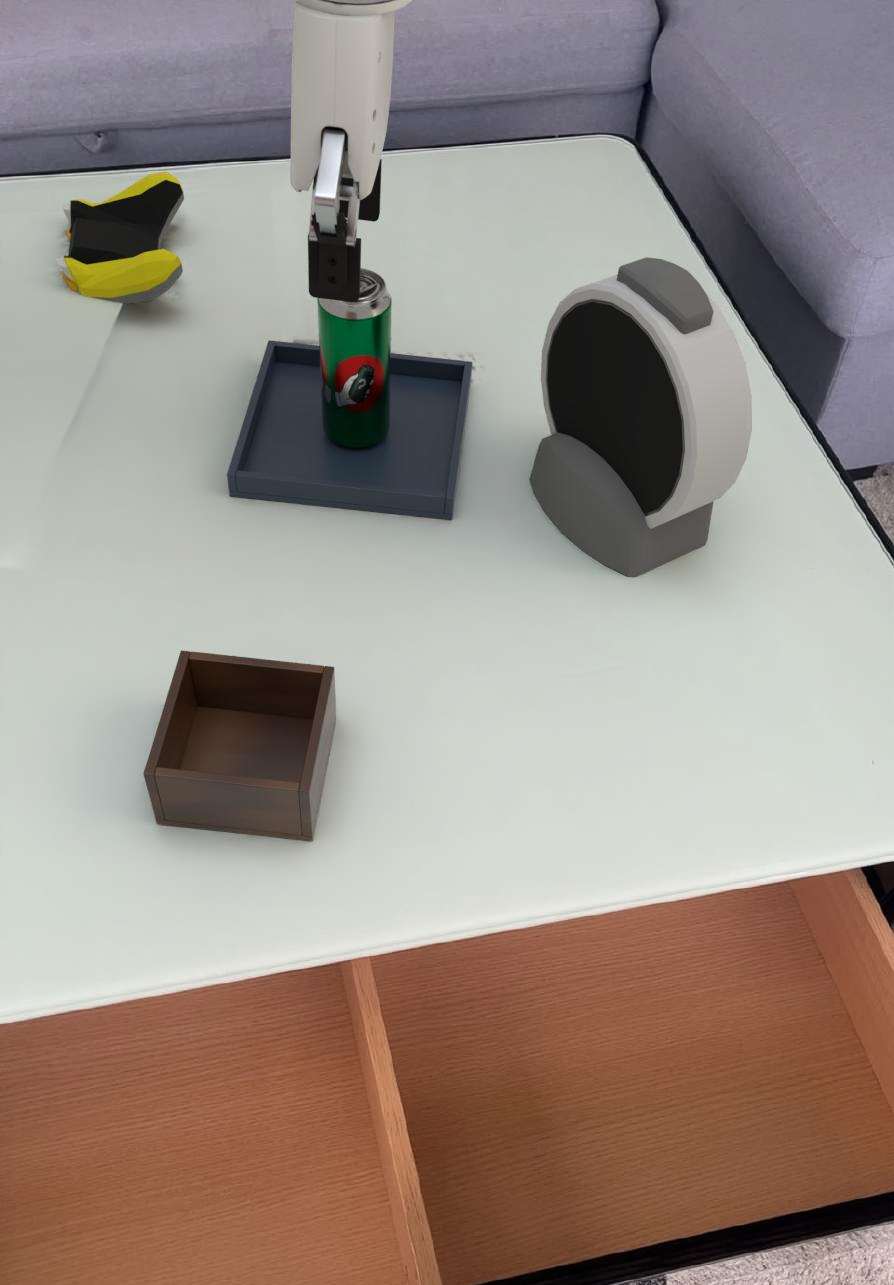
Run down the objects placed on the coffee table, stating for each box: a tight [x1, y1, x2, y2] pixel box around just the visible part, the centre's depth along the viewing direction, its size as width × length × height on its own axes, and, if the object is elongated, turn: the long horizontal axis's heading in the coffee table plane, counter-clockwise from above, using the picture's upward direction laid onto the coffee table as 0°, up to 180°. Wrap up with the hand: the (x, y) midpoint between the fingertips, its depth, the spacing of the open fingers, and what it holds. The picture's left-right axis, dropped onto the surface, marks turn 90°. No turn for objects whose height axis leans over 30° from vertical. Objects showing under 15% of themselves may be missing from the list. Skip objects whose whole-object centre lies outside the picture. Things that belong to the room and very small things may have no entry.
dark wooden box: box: [143, 650, 337, 842], centre depth 69 cm, size 9×9×5 cm
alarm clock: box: [529, 256, 753, 578], centre depth 79 cm, size 16×10×18 cm, turn 33°
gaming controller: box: [55, 171, 185, 305], centre depth 98 cm, size 15×6×10 cm
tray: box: [226, 339, 473, 521], centre depth 89 cm, size 16×16×2 cm
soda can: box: [316, 267, 393, 449], centre depth 85 cm, size 5×5×12 cm
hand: (345, 256), depth 78 cm, fingers open, 9 cm apart
